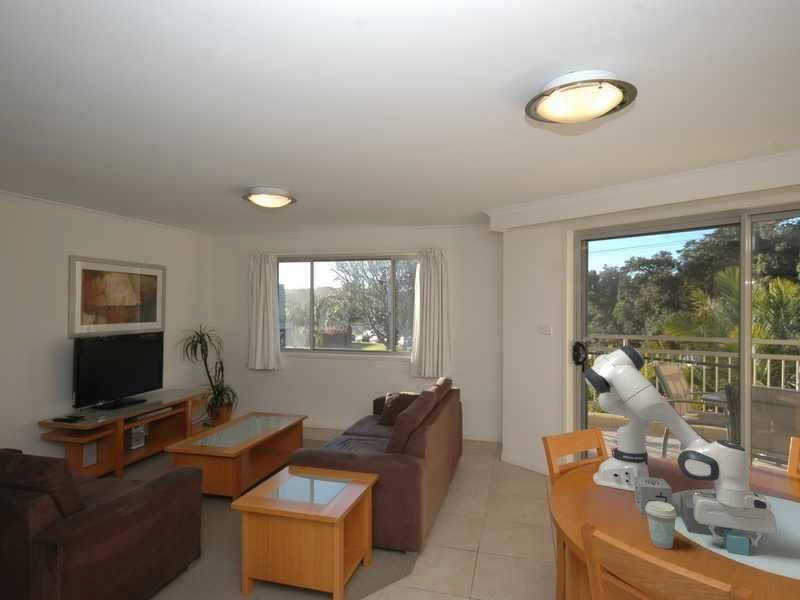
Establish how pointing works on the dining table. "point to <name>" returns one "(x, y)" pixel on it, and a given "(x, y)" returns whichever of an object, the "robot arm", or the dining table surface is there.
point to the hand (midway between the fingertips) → (734, 542)
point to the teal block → (735, 542)
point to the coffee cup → (661, 523)
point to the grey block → (690, 521)
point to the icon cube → (651, 492)
